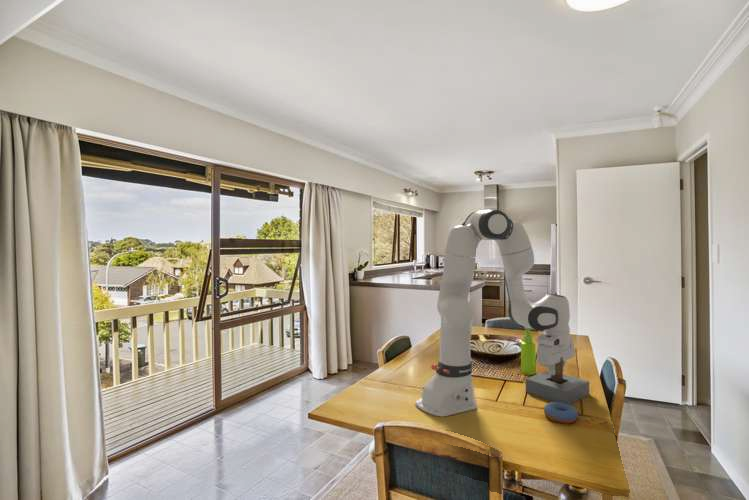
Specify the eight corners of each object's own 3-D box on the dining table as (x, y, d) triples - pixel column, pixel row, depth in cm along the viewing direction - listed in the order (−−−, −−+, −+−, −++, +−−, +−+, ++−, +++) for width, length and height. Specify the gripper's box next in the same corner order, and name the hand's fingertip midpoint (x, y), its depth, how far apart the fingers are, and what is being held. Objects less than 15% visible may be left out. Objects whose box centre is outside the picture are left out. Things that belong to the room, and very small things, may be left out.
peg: (559, 390, 142) (559, 358, 142) (549, 387, 145) (548, 356, 145) (565, 388, 145) (564, 356, 144) (554, 385, 148) (554, 354, 148)
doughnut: (578, 427, 118) (577, 412, 119) (542, 422, 123) (542, 407, 123) (578, 417, 127) (578, 403, 127) (546, 413, 132) (545, 399, 132)
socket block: (567, 405, 134) (567, 391, 134) (525, 391, 147) (525, 378, 147) (589, 394, 143) (589, 381, 143) (548, 382, 156) (548, 370, 156)
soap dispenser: (536, 376, 163) (535, 329, 163) (519, 373, 167) (519, 327, 167) (539, 372, 168) (539, 327, 167) (523, 369, 172) (523, 325, 172)
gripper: (562, 331, 153) (563, 365, 154) (533, 339, 141) (534, 376, 142) (579, 334, 148) (579, 369, 148) (550, 342, 136) (550, 381, 136)
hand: (556, 373), depth 145 cm, fingers closed on peg, 4 cm apart
